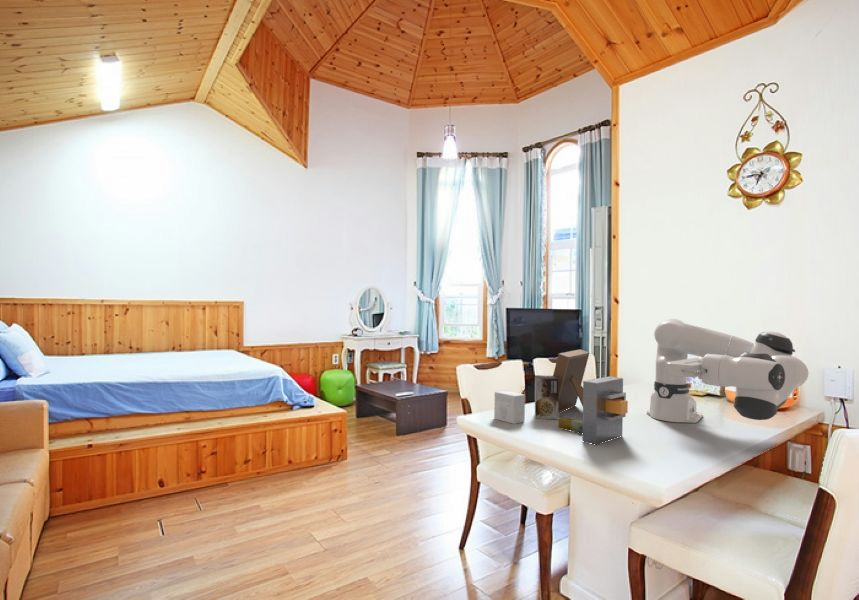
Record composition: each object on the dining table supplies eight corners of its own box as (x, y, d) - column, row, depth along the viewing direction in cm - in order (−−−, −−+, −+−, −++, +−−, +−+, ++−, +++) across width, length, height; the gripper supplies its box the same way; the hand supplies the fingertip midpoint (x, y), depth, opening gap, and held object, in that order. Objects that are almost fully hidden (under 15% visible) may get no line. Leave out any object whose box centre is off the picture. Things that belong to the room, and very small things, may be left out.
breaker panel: (608, 433, 169) (609, 376, 169) (630, 438, 163) (631, 379, 163) (582, 441, 159) (583, 381, 159) (604, 447, 153) (605, 384, 153)
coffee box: (557, 415, 194) (557, 375, 193) (558, 419, 187) (559, 378, 187) (534, 414, 195) (534, 374, 195) (534, 418, 189) (535, 377, 189)
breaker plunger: (601, 407, 165) (601, 395, 165) (627, 412, 158) (627, 400, 158) (594, 409, 162) (594, 397, 162) (621, 414, 155) (621, 402, 155)
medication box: (591, 434, 168) (591, 423, 168) (586, 435, 167) (587, 424, 167) (562, 427, 178) (562, 416, 178) (557, 428, 176) (557, 417, 176)
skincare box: (525, 421, 184) (525, 394, 184) (514, 424, 180) (514, 396, 180) (504, 416, 192) (505, 389, 192) (493, 418, 188) (493, 391, 188)
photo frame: (543, 413, 197) (545, 352, 196) (566, 404, 214) (567, 348, 213) (579, 420, 187) (581, 355, 187) (599, 410, 204) (601, 351, 204)
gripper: (697, 384, 131) (647, 377, 142) (726, 377, 144) (678, 371, 155) (698, 361, 131) (647, 356, 142) (727, 355, 144) (679, 351, 155)
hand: (664, 363), depth 148 cm, fingers closed
